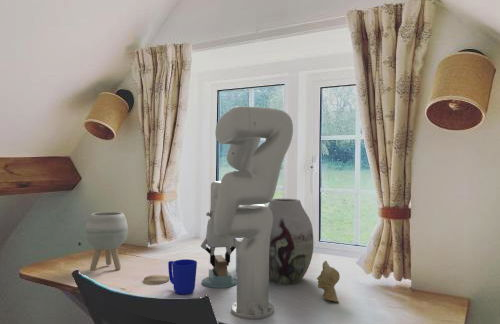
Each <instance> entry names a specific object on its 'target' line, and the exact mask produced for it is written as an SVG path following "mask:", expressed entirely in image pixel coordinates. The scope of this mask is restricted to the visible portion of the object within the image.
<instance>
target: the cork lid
mask: <svg viewBox="0 0 500 324" xmlns="http://www.w3.org/2000/svg"><path fill="white" fill-rule="evenodd" d="M167 282H170V278H169V275H167V274H166V275H165V274H152V275H147V276H145V277H144V278H143V283H145V284H147V285H161V284H167Z"/></svg>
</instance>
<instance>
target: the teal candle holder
mask: <svg viewBox="0 0 500 324" xmlns="http://www.w3.org/2000/svg"><path fill="white" fill-rule="evenodd" d="M201 284H202V285H203V287H208V288H213V289H226V288H232V287H235V286H237V277H234V276H232V274H231V273H230V272H229V270H228V269H227V276H218V275H217V273H216V272H215V270H214V269H213V268H210V269H208V276H207V277H205V278H202V279H201Z"/></svg>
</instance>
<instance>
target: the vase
mask: <svg viewBox="0 0 500 324" xmlns="http://www.w3.org/2000/svg"><path fill="white" fill-rule="evenodd" d="M267 207H268V208H269V209H270V210H271V212H272V214H273V225H272V230H271V236H270V246H269V282H271V283H274V284H277V285H294V284H297V283H299V282H301V281H302V280H303V278H304V277H305V275H306V274H307V272H308V269H309V268H310V267H309V266H310V265H311V262H312V260H313V259H312V258H313V252H314V231H313V225H312V221H311V219H310V217H309V215H308V214H307V212H306V210H305V209H304V207H303V205H302V203H301V200H300V199H296V198H273V199H272V200H271V201H270V202H269V203H268V205H267Z"/></svg>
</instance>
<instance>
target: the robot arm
mask: <svg viewBox="0 0 500 324" xmlns="http://www.w3.org/2000/svg"><path fill="white" fill-rule="evenodd" d="M293 132H294V125H293V120H292V118H291V116H290V115H289V113H287V112H286V111H284V110H281V109H278V108H272V107H262V106H261V107H258V106H257V107H256V106H245V105H236V106H234V107H232V108H230V109H229V110H227V112H225V113H224V114H223V115H221V117H219V120H218V121H217V123H216V127H215V139H216V141H217V142H218V143H219V144H222V145H229V148H228V151H227V154H226V162H227V163H228V165H229V166H230V167H231V168H233V169H235V170H232V171H228V172H226V173H225V174H224V175H223V176H222V178H221V180H218V181H217V180H216V181H212V182H211V183H210V209H209V211H207V212H206V213H205V214H206V217H209V218H208V220H207V225H206V227H207V228H206V232H205V233H206V234H205V235H206V236H205V238H204V240H203V241H202V243H201V244H200V247H201V249H203V250H205V251H206V253H208V254H209V264H210V265H211V267H212V268H213V267H214V266H215V255H216V254H215V250H216V248H225V250H226V251H225V253H224V259H225V260H226V261H227V267H229V265H230V263H231V255H232V253H233V252H234V251H235V250H236V248H237V247H238V246H239V248H238V251H237V268H236V279H237V284H236V302H234V303H232V305H230V306H231V307H230V309H231V310H230V311H231V313H232V314H233V315H234V316H236V317H238V318H243V319H249V320H258V319H259V320H260V319H265V318H267V317H270V316H271V315H273V314H274V312H275V311H274V309H275V308H274V305H273V304H272V303H270V302H269V301H270V300H269V299H270V297H269V291H270V289H269V288H270V280H269V246H270V236H271V230H272V225H273V214H272V212H271V210H270V209H269V208H268V205H265V204H269V203H270V201H271V200H272V199H274V196H275V193H276V190H277V186H278V181H279V177H280V173H281V168H282V165H283V161H284V159H285V157H286V154H287V152H288V150H289V148H290V146H291V143H292V140H293V134H294V133H293ZM261 139H265V140H264V142H262V143H261V144H260V142H261ZM240 238H242V239H243V240H242V242H241V243H240V244H239V243H238V241H237V240H238V239H240Z"/></svg>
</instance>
